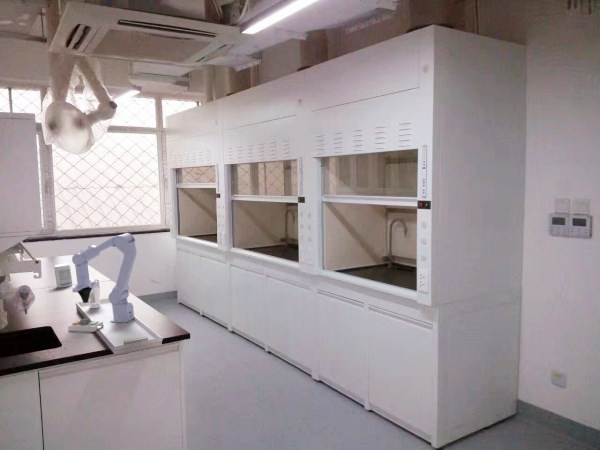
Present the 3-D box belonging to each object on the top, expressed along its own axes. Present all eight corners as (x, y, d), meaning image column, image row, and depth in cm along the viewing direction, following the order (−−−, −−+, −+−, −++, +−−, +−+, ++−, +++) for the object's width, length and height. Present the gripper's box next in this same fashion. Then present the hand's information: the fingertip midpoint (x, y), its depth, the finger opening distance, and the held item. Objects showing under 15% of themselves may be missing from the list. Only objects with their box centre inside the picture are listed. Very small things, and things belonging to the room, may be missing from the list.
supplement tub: (75, 284, 327) (73, 263, 325) (66, 287, 318) (63, 266, 316) (63, 284, 329) (60, 263, 327) (53, 288, 320) (50, 266, 318)
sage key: (98, 326, 229) (98, 321, 229) (94, 328, 226) (94, 323, 226) (93, 326, 230) (92, 321, 230) (89, 328, 227) (88, 323, 227)
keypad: (103, 326, 231) (102, 321, 231) (93, 331, 224) (93, 326, 224) (78, 326, 234) (77, 320, 234) (68, 331, 228) (67, 325, 227)
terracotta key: (82, 325, 231) (81, 321, 231) (78, 328, 229) (77, 323, 228) (77, 325, 232) (76, 321, 232) (72, 327, 229) (72, 323, 229)
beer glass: (85, 308, 265) (82, 282, 263) (95, 304, 271) (92, 279, 269) (95, 309, 262) (92, 282, 261) (104, 305, 269) (101, 279, 267)
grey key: (90, 323, 230) (89, 318, 230) (86, 325, 227) (85, 320, 227) (84, 323, 231) (84, 318, 231) (80, 325, 228) (80, 320, 228)
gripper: (85, 273, 248) (88, 298, 250) (65, 279, 234) (69, 306, 236) (97, 272, 246) (100, 298, 248) (78, 279, 232) (81, 306, 234)
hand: (85, 302), depth 242 cm, fingers closed
